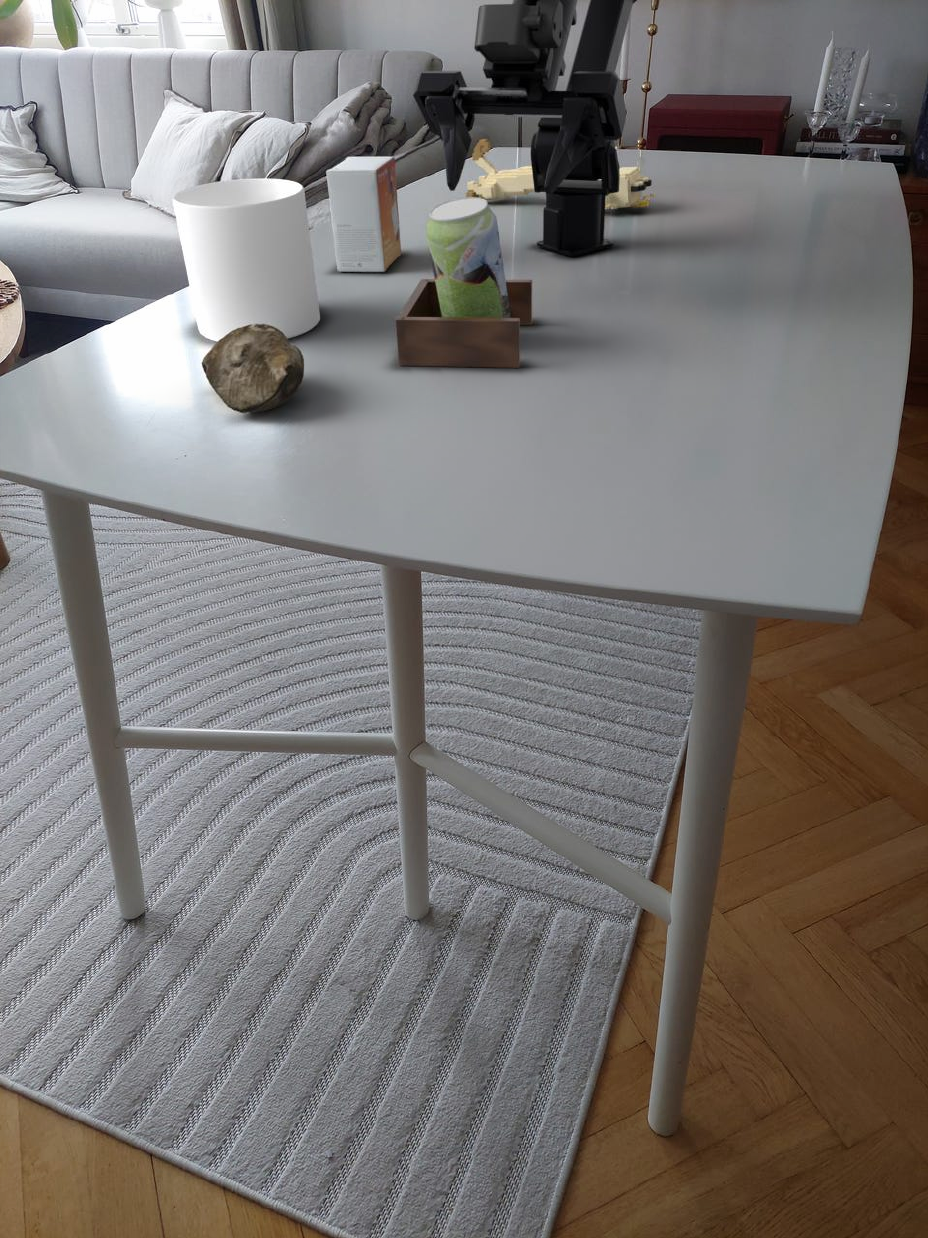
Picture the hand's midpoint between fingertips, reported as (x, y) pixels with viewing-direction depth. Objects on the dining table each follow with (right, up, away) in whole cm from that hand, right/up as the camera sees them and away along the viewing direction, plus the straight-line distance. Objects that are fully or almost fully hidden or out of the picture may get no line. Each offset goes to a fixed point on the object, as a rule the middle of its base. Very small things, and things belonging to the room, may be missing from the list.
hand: (498, 189), depth 86 cm
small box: (-14, +2, +24) cm, 27 cm away
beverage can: (-2, -14, +1) cm, 14 cm away
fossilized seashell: (-20, -20, -8) cm, 29 cm away
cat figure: (+10, +17, +43) cm, 47 cm away
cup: (-23, -10, +8) cm, 26 cm away
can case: (-2, -13, +1) cm, 14 cm away
